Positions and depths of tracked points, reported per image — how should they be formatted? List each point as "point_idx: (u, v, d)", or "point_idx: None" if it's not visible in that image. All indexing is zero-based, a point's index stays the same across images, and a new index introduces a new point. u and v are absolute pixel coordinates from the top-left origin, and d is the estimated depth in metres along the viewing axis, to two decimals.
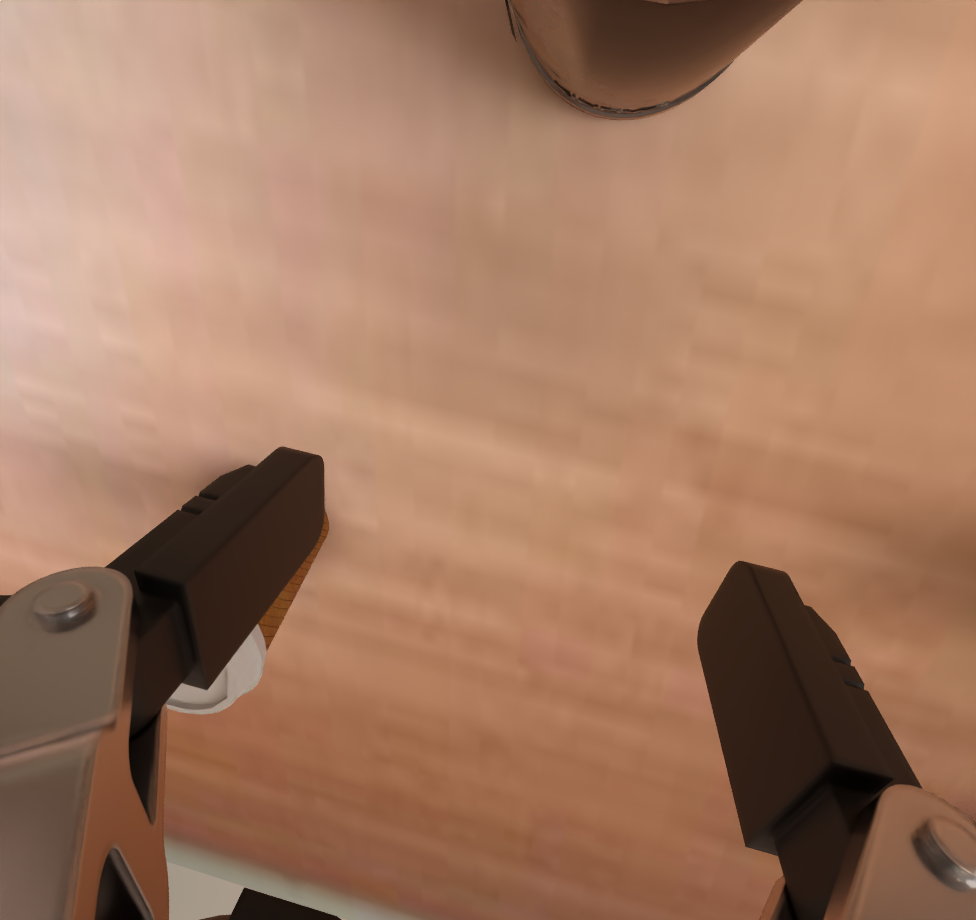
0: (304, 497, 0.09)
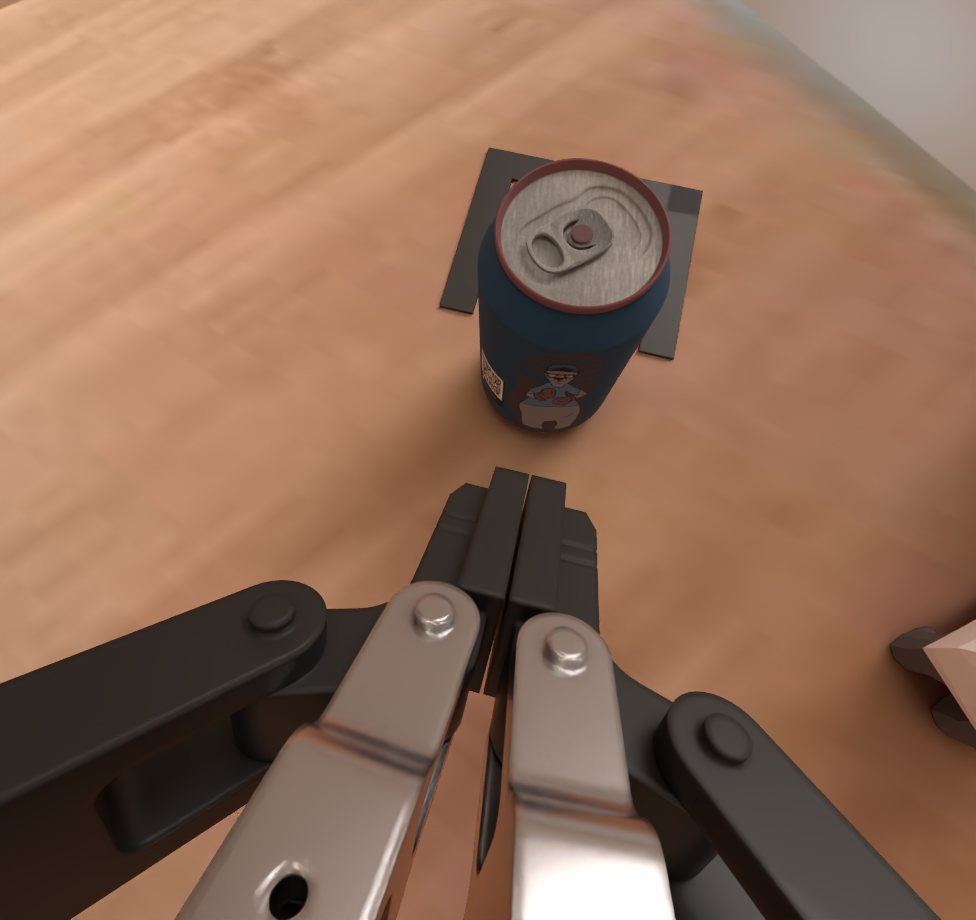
0: None
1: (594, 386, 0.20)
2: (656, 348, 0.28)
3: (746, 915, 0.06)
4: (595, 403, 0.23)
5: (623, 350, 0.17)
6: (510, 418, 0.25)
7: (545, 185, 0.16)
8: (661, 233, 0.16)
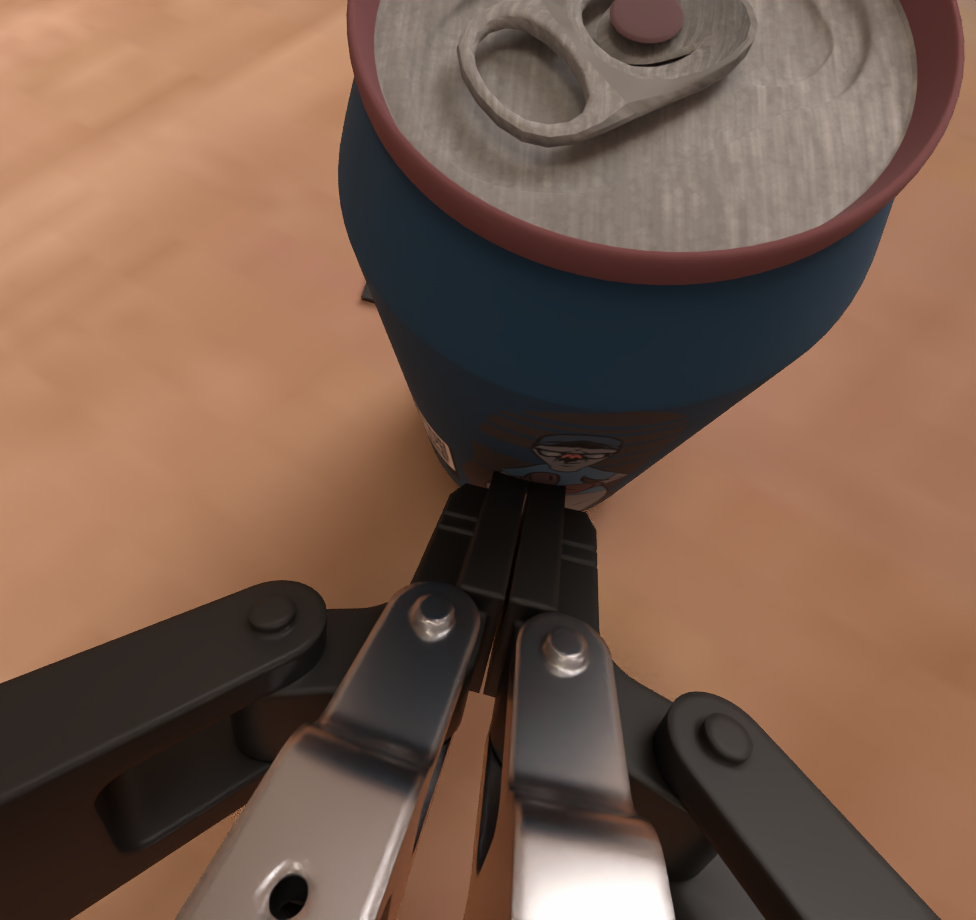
0: None
1: (646, 463, 0.09)
2: None
3: (746, 915, 0.06)
4: None
5: (748, 393, 0.06)
6: None
7: None
8: (905, 20, 0.05)
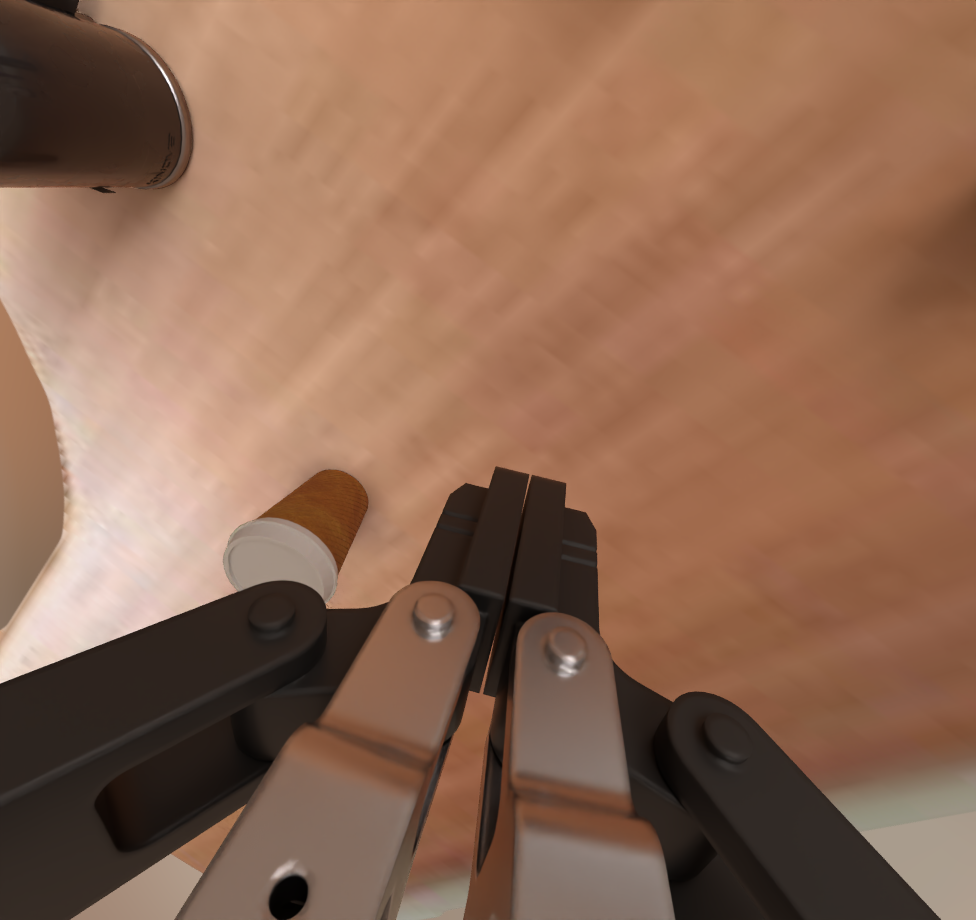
0: None
1: None
2: None
3: (746, 915, 0.06)
4: None
5: None
6: None
7: None
8: None
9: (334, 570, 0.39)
